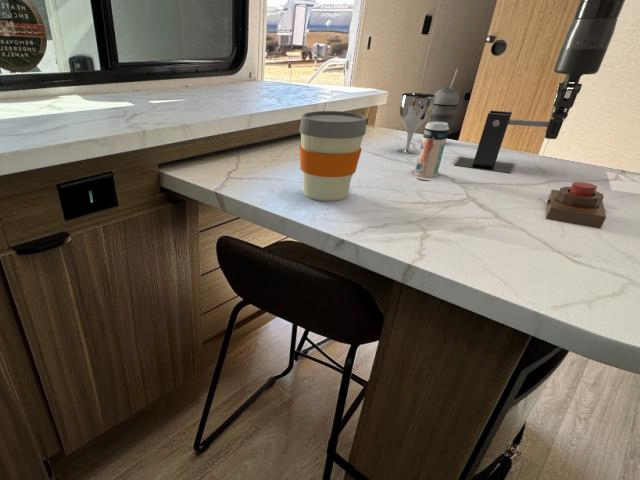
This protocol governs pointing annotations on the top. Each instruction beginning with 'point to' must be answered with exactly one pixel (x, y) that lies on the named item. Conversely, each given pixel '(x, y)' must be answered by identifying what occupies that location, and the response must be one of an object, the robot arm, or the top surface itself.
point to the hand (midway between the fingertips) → (550, 135)
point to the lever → (528, 123)
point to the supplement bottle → (431, 149)
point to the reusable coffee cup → (330, 152)
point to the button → (583, 189)
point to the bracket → (490, 145)
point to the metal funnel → (415, 112)
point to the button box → (576, 208)
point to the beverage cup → (445, 104)
